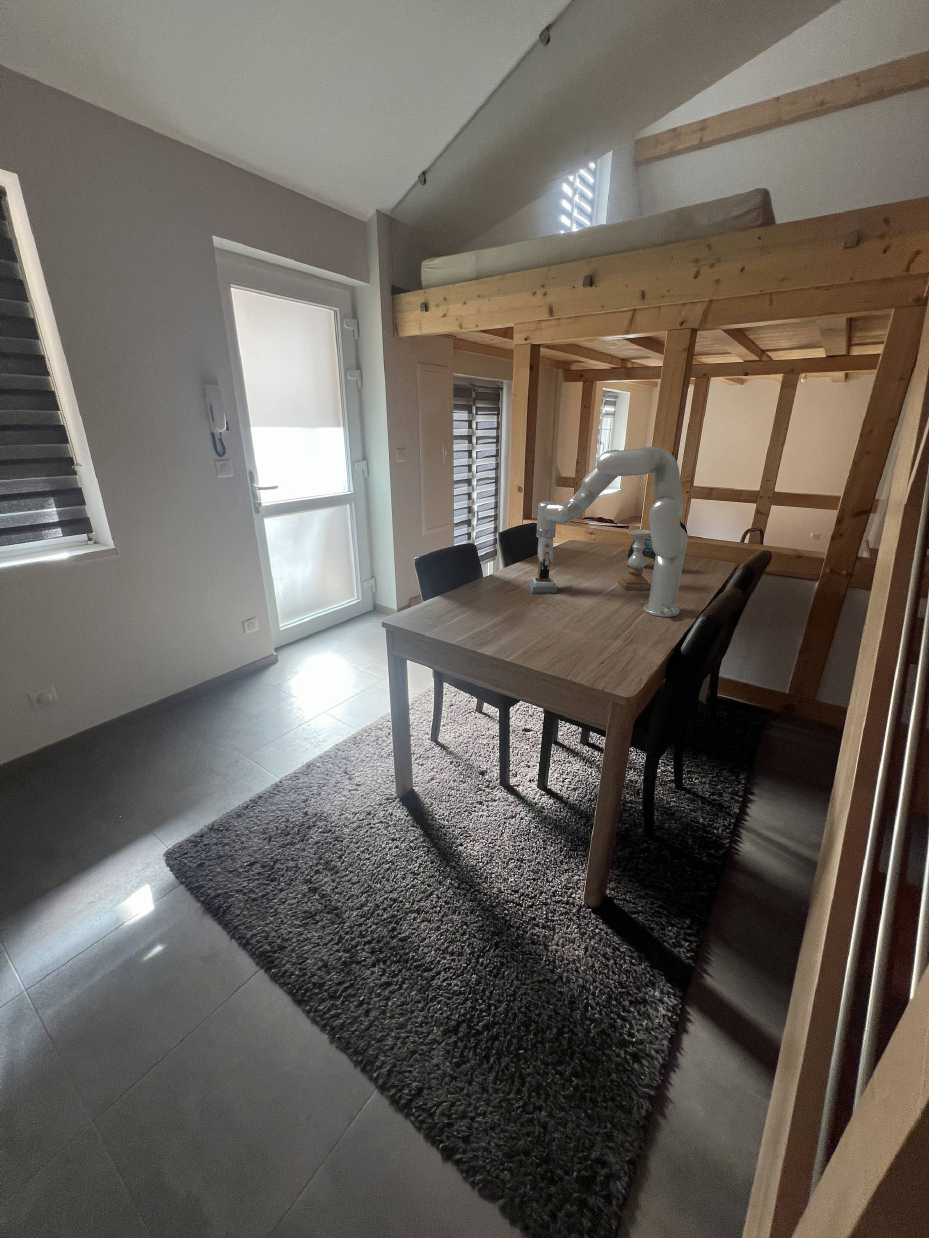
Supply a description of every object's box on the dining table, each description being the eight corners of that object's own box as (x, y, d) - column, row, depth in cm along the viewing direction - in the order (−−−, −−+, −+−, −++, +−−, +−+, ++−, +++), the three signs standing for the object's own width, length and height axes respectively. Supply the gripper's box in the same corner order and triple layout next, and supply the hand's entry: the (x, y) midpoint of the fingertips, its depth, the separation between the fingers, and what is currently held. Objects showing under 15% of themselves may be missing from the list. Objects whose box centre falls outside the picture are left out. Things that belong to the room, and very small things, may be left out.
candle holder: (650, 590, 207) (658, 534, 198) (624, 590, 207) (631, 534, 198) (642, 582, 217) (649, 528, 208) (617, 582, 217) (623, 528, 208)
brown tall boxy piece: (548, 583, 204) (550, 555, 200) (538, 584, 204) (540, 555, 200) (546, 581, 208) (548, 553, 204) (537, 581, 208) (538, 553, 204)
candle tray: (556, 593, 203) (557, 583, 201) (532, 593, 203) (532, 583, 201) (552, 586, 212) (552, 576, 210) (528, 586, 212) (529, 576, 210)
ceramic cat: (670, 572, 231) (676, 530, 224) (664, 575, 227) (671, 532, 219) (630, 564, 244) (635, 524, 237) (624, 567, 240) (629, 526, 232)
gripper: (559, 537, 191) (555, 582, 198) (551, 528, 206) (548, 571, 213) (540, 537, 191) (537, 582, 197) (533, 528, 206) (531, 571, 213)
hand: (543, 576), depth 205 cm, fingers closed on brown tall boxy piece, 3 cm apart
